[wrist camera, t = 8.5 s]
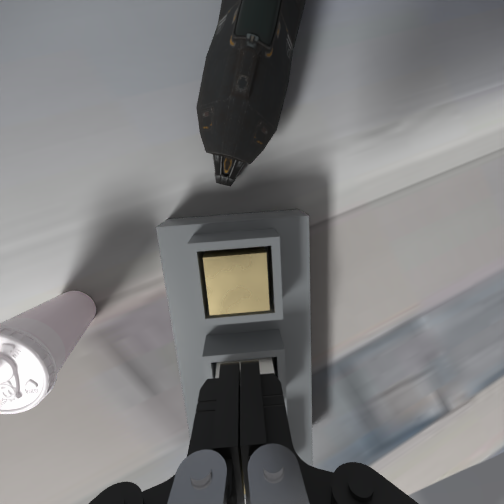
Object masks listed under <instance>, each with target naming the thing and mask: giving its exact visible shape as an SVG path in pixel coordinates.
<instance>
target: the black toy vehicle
mask: <svg viewBox="0 0 504 504" xmlns="http://www.w3.org/2000/svg"><path fill="white" fill-rule="evenodd" d="M305 1H306V0H222V4H221V10H220V15H219V21H218V25H217V28H216V31H215V34H214V37H213V40H212V42H211V45H210V48H209V51H208V53H207V56H206V61H205V66H204V71H203V77H202V82H201V87H200V92H199V98H198V103H197V114H198V122H199V129H200V135H201V138H202V141H203V144H204V147H205V151H206V152H207V153H211V154H213V160H214V167H215V178H216V183H220V184H223V185H227V186H231V185H232V184H233V182H234V181H235V179H236V177H237V175H238V173H239V172H240V170H241V169H242V167H243V166H244V164H245V163H248V164H251V163H252V162H253V161H254V160H255V158H256V157H257V156H258V155H259V154H260V153H261V152H262V151H263V150H264V148H265V147H266V145H267V144H268V142H269V141H270V139H271V138H272V136H273V134H274V133H275V131H276V130H277V126H278V122H279V118H280V114H281V110H282V106H283V102H284V98H285V94H286V90H287V86H288V82H289V74H290V67H291V59H292V52H293V48H294V44H295V40H296V36H297V32H298V29H299V25H300V21H301V17H302V13H303V9H304V5H305Z"/></svg>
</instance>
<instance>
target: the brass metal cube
mask: <svg viewBox="0 0 504 504" xmlns="http://www.w3.org/2000/svg"><path fill="white" fill-rule="evenodd" d="M203 264H204V272H205V281H206V289H207V297H208V305H209V314H210V315H221V314H232V313H244V312H256V311H267V310H270V305H269V288H268V270H267V253H266V250H265V247H264V246H261V247H248V248H235V249H223V250H210V251H205V253H204V256H203Z"/></svg>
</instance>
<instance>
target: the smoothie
mask: <svg viewBox="0 0 504 504" xmlns="http://www.w3.org/2000/svg"><path fill="white" fill-rule="evenodd" d="M95 314H96V306H95V303H94V301H93V300H92V299H91V298H90V297H89V296H88V295H87V294H85V293H83V292H80V291H68V292H65V293H63V294H61V295H59V296H57V297H55V298H53V299H51V300H49V301H46V302H44V303H42V304H40V305H38V306H36V307H34V308H32V309H30V310H28V311H26V312H23V313H21V314H19V315H17V316H15V317H13V318H11V319H9V320H6V321H4V322H2V323H0V414H15V413H20V412H24V411H27V410H29V409H31V408H33V407H34V406H36V405H37V404H38V403H39V402H40V401H41V400H42V399H43V398H44V397H45V396H46V395H47V394H48V393H49V392H50V391H51V390H52V389H53V387H54V384H55V382H56V380H57V373H58V371H59V370H60V368H61V367H62V365H63V364H64V362H65V361H66V359H67V358H68V356H69V355H70V353H71V352H72V350H73V349H74V347H75V346H76V344H77V342H78V341H79V339H80V338H81V336H82V335H83V333H84V332H85V330H86V329H87V327H88V326H89V324H90V323H91V321H92V320H93V318H94V317H95Z"/></svg>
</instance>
